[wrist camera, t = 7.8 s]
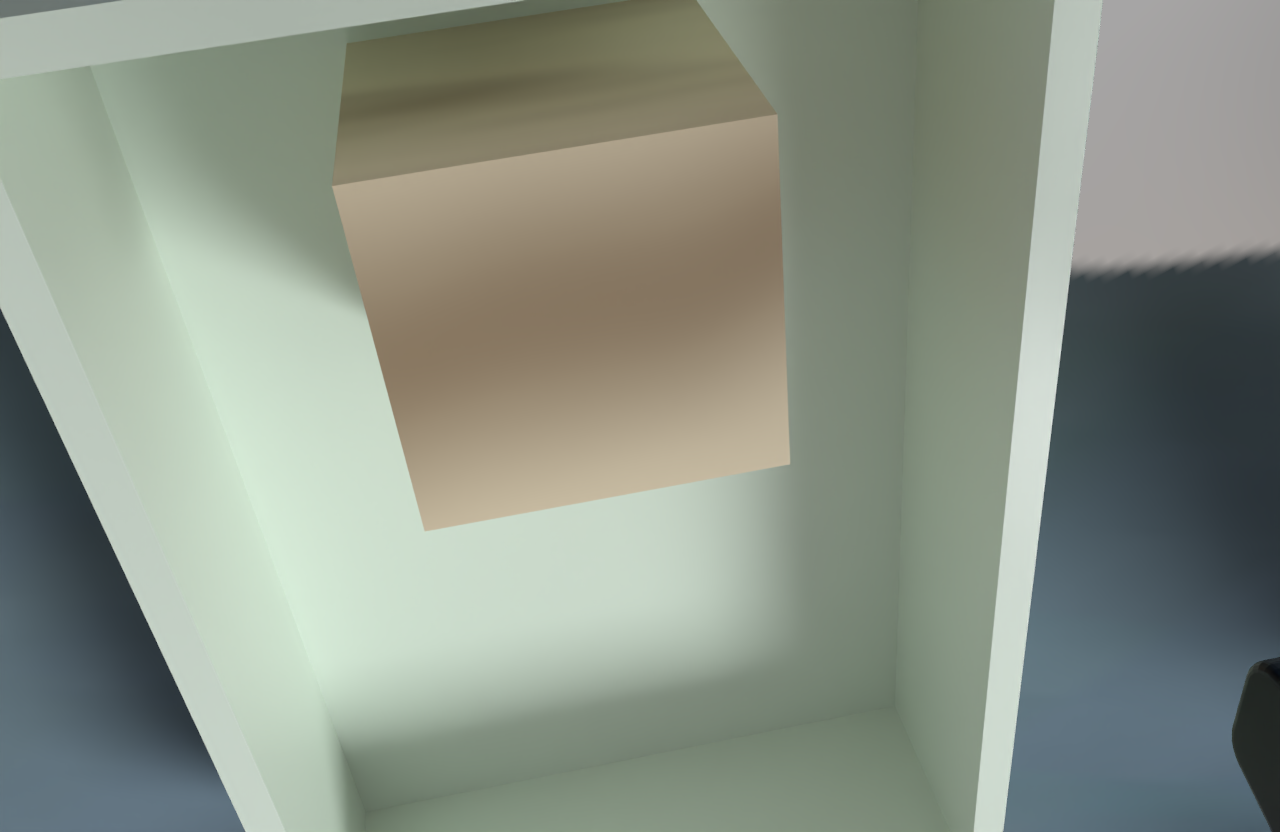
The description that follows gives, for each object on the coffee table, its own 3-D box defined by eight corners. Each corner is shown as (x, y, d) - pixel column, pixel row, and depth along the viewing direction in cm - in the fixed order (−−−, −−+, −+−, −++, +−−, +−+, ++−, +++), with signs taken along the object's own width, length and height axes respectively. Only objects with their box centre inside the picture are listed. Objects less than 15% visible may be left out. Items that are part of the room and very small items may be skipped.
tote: (950, -212, 17) (1120, -147, 13) (910, 699, 28) (996, 886, 24) (2, -79, 16) (-127, 37, 12) (345, 812, 27) (336, 1026, 23)
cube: (712, 289, 21) (789, 464, 17) (418, 339, 20) (424, 531, 16) (690, -9, 18) (777, 114, 14) (346, 42, 17) (332, 186, 13)
